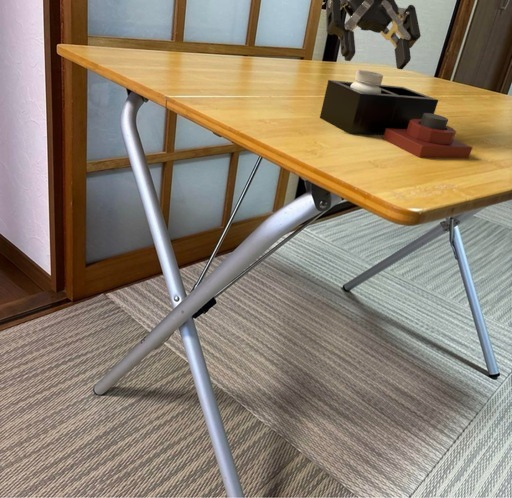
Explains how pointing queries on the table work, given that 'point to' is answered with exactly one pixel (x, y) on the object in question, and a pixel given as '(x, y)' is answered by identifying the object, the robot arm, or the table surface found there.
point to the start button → (434, 121)
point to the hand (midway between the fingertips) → (377, 62)
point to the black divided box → (373, 108)
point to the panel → (427, 141)
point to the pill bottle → (367, 82)
